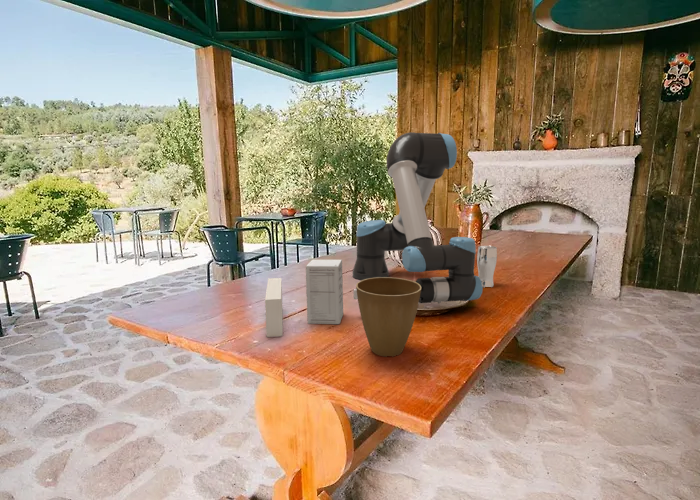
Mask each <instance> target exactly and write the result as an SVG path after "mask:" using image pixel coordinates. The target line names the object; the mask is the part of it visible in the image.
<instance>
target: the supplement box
mask: <svg viewBox="0 0 700 500" xmlns="http://www.w3.org/2000/svg"><path fill="white" fill-rule="evenodd" d="M305 283H306V284H305V285H306V288H305V289H306V315H307V324H308V325H309V324H310V325H311V324H315V325H318V324H319V325H320V324H321V325H340V324H341V320H342V318H343V315H344V286H343V259H311V261H309V262H308V263H307V265H305Z"/></svg>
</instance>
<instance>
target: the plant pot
mask: <svg viewBox="0 0 700 500" xmlns="http://www.w3.org/2000/svg"><path fill="white" fill-rule="evenodd" d="M355 289H356V290H357V297H358V299H357V302H358V308H359V313H360V317H361V322H362V325H363V329H364V334H365V337H366V338H367V341H368V344H369V345H368V346H369V347H370V350H371V351H372V353H374V354H375V355H377V356H381V357H387V356H392V357H395V356H396V355H397V356H400V355H401V354H402V353H403V351H404V348H405V346H406V344H407V342H408V340H409V337H410V334H411V331H412V328H413V326H414V322H415V319H416V315H417V312H418V307H419V304H420V303H419V298H420V293H421V285H419V284H418V283H416V281H413V280H410V279H406V278H399V277H390V276H389V277H376V278H369V279H364V280H359V281H358V282H356V283H355Z"/></svg>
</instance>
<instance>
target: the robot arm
mask: <svg viewBox="0 0 700 500" xmlns="http://www.w3.org/2000/svg"><path fill="white" fill-rule="evenodd" d="M457 157H458V150H457V144H456V141H455V139H454V137H453V136H452V135H451V134H448V133H441V132H438V133H433V132H432V133H430V132H429V133H428V132H410V131H409V132H406V133H402V135H400V136H398V137H397V138H396V139H395V140H394V141H393V142H392V143H391V145H390V147H389V149H388V152H387V155H386V169H387V174H388V176H389V177H390V178H392V183H393V186H394V191H395V195H396V200H397V204H398V208H399V209H398V210H399V213H398V214H397V215H395V216H393V219H392V221H391V222H387V223H386V220H383V219H376V220H375V219H374V220H367V221H362V222H360V223H358V225H357V226H356V260H355V263H354V266H353V269H352V277H353V278H354V279H356V280H359V281H361V280H364V279H369V278H376V277H390V276H389V275H390V274H389V268H388V265H387V262H386V259H385V258H386V256H385V254H386V253H385V252H395V251H396V252H399V251H402V252H401V253H402V254H401V256H402V257H401V258H402V260H401V261H402V265H403V268H404V269H405V270H406V271H407V272H409V273H412V272H413V273H415V272H416V273H423V272H433V271H447V270H448V276H433V277H418V278H417V279H416V280H415V282H416V283H418V284H419V285H421V293H420V298H419V303H418V304H430V303H438V304H441V303H443V302H444V303H445V302H467V301H474V300H479V299H480V298H481V296H482V295H483V288H484V287H482V282H481V280H480V278H479V275H475V265H476V264H475V263H476V262H475V261H476V255H477V253H476V240H475V239H474V238H472V237H466V236H454V237H451V238H450V239H449V242H448V244H438V245H435V244H434V241H433V238H432V233H431V230H430V225H429V221H428V218H427V213H426V209H425V207H426V205H427V203H428V199H429V198H430V195H431V192H432V190H433V188H434V185H435V183H436V180H438V179H440V178H442V176H443V174H444V173H445V170H449V169H452V168H453V167H454V166H455V165H456V162H457ZM353 300H358V297H357V290H356V288H353Z"/></svg>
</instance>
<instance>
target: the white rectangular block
mask: <svg viewBox="0 0 700 500" xmlns="http://www.w3.org/2000/svg"><path fill="white" fill-rule="evenodd" d="M265 291H266V292H265V299H264V304H265V305H264V308H265V328H266V329H265V330H266V334H265V335H266V338H274V337H283V316H284V315H283V310H284V309H283V286H282V277H275V278H274V277H273V278H270V277H268V278H267V285H266V290H265Z"/></svg>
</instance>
